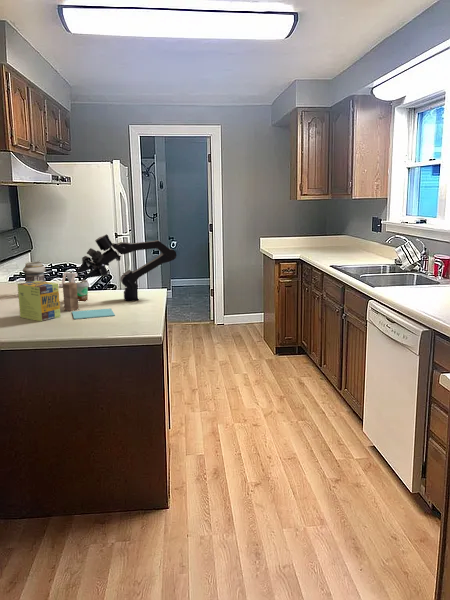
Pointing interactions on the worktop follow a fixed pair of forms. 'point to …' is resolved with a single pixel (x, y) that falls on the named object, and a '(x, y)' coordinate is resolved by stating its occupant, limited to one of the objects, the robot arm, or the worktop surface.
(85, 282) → the food container
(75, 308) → the walnut block
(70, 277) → the portable electronic device stand
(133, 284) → the robot arm
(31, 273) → the apothecary jar
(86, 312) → the teal mat
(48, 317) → the protein box
